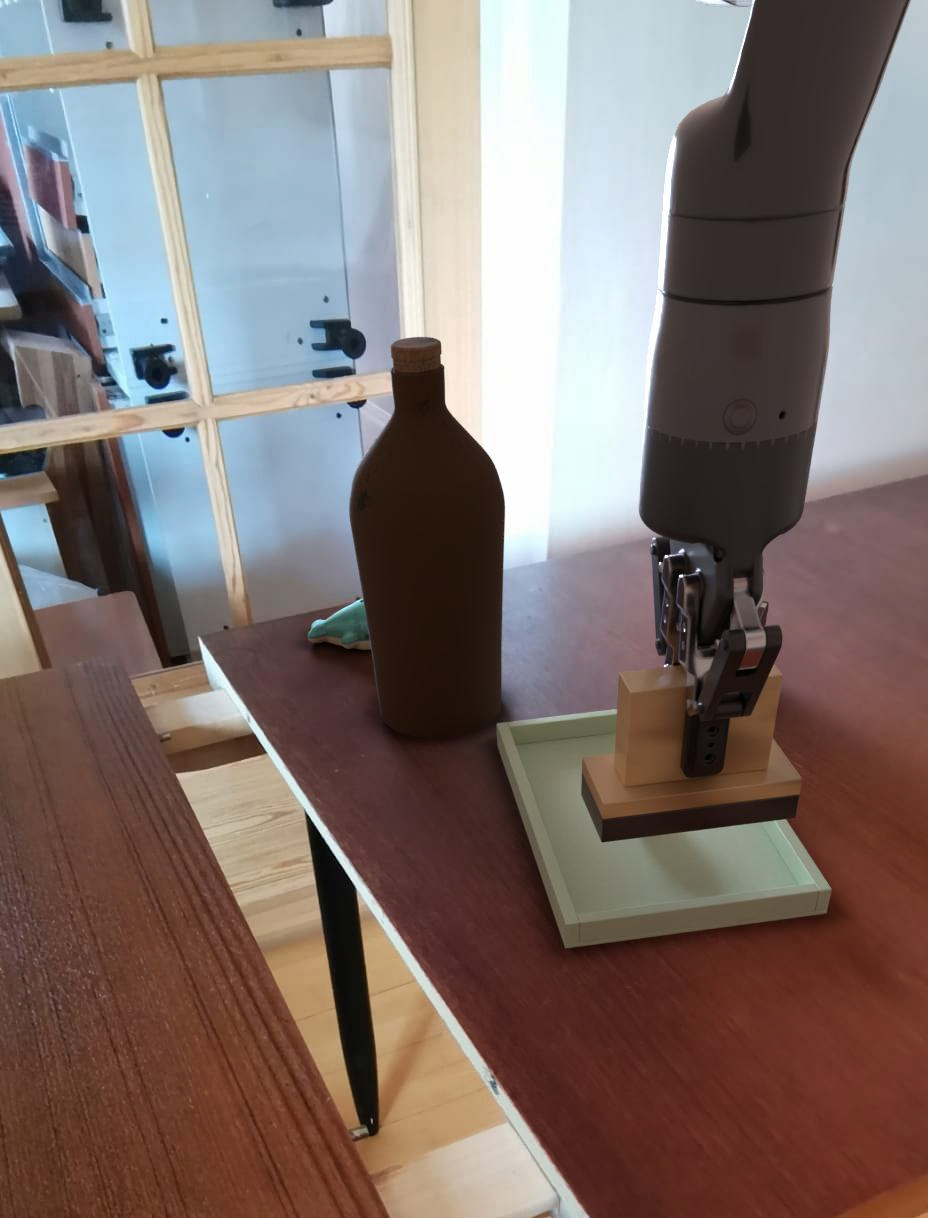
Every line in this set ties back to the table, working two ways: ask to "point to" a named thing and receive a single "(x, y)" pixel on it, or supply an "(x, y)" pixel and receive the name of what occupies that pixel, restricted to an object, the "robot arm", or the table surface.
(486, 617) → the olive oil
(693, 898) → the tray
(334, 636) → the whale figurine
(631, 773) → the two-tone stepped block
